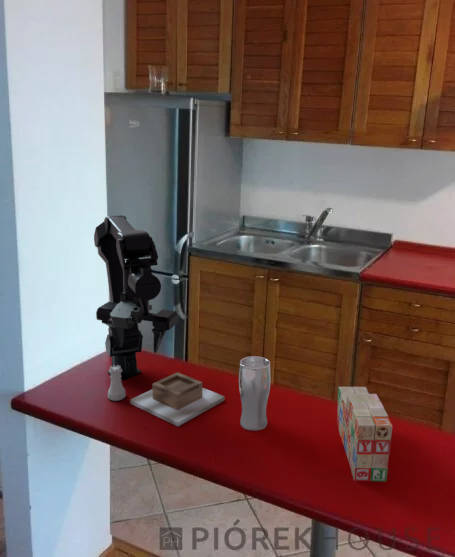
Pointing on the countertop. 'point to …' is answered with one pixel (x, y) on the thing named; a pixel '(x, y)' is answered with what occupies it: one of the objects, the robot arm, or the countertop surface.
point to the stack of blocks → (364, 433)
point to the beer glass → (254, 391)
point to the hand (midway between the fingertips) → (138, 349)
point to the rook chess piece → (116, 384)
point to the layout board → (182, 412)
